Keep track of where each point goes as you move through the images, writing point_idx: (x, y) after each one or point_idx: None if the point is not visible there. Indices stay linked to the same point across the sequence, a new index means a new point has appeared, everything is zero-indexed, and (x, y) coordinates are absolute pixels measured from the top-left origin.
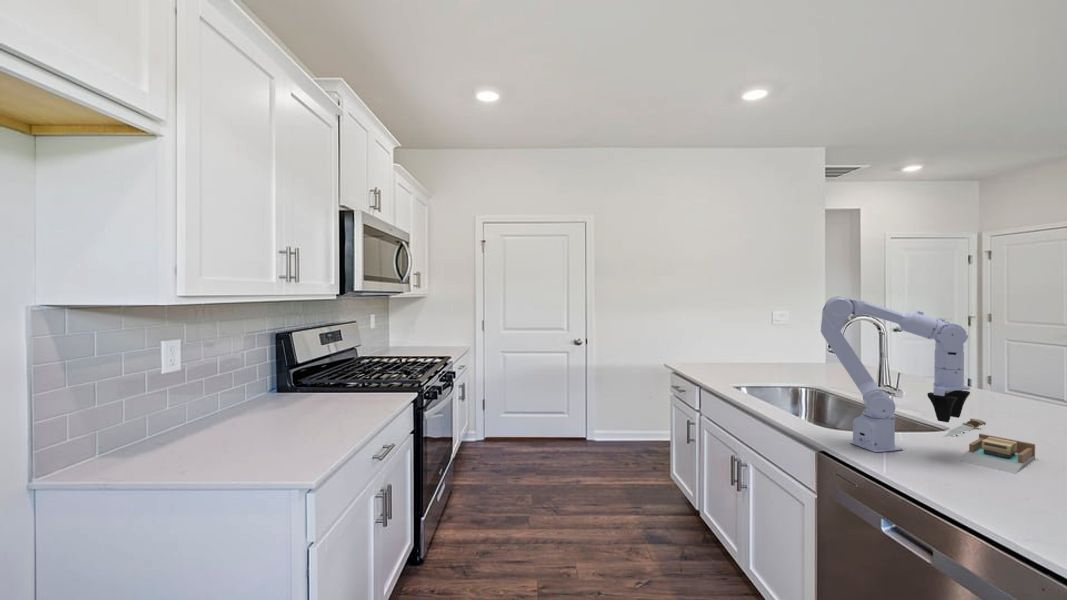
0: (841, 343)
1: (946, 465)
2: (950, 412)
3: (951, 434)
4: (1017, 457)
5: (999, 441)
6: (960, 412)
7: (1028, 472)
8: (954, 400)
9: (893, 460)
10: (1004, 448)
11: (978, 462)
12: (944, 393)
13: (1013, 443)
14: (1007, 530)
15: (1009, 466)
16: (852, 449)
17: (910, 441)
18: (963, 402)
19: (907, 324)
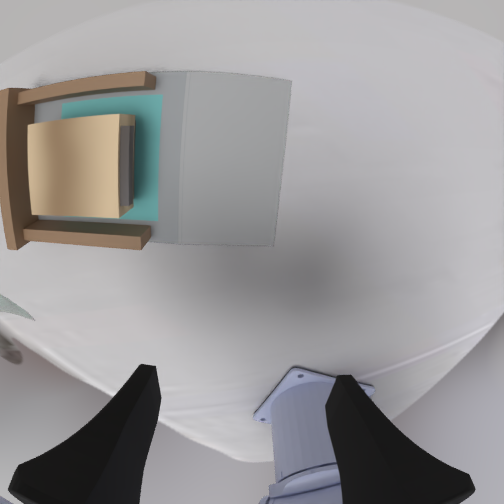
0: None
1: (369, 257)
2: (378, 419)
3: (5, 305)
4: (88, 109)
5: (69, 167)
6: (138, 387)
7: (228, 52)
8: (451, 481)
9: (410, 347)
10: (133, 130)
11: (255, 189)
12: None
13: (56, 123)
14: None
15: (229, 100)
16: None
17: (168, 372)
18: (99, 440)
19: None
